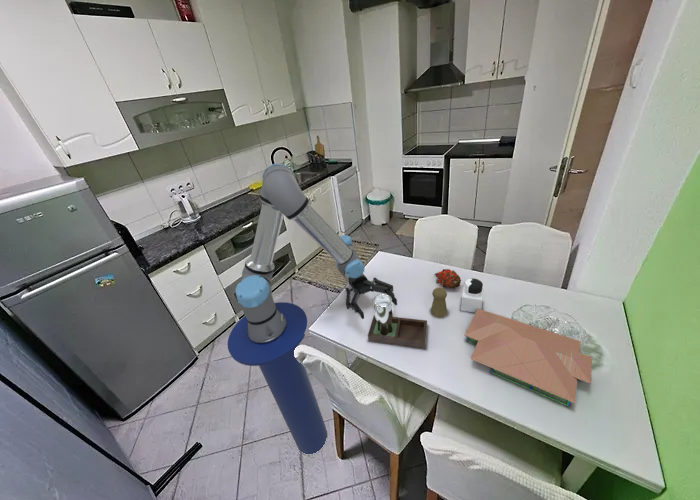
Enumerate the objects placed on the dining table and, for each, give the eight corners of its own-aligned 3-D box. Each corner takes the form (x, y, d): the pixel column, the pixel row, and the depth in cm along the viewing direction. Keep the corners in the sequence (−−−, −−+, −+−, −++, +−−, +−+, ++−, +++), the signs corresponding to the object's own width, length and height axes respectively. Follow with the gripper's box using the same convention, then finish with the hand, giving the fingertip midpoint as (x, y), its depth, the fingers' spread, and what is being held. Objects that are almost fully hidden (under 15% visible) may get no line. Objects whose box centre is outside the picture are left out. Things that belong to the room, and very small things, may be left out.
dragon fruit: (460, 295, 117) (436, 287, 126) (468, 277, 118) (443, 271, 127) (453, 287, 111) (427, 280, 120) (461, 269, 113) (435, 263, 122)
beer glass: (385, 320, 107) (382, 290, 99) (398, 330, 102) (396, 299, 94) (372, 330, 103) (368, 300, 96) (385, 341, 99) (382, 310, 91)
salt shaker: (448, 308, 109) (450, 287, 103) (444, 319, 104) (446, 297, 99) (433, 305, 112) (433, 283, 106) (428, 314, 107) (429, 293, 102)
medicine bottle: (481, 301, 110) (485, 277, 103) (480, 314, 104) (484, 289, 98) (462, 298, 113) (464, 275, 106) (460, 310, 107) (462, 286, 101)
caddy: (368, 341, 101) (367, 335, 99) (374, 320, 109) (374, 314, 107) (425, 349, 94) (425, 343, 93) (427, 326, 103) (427, 320, 101)
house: (585, 416, 71) (595, 397, 66) (455, 359, 90) (456, 342, 85) (588, 352, 85) (597, 333, 81) (476, 314, 104) (478, 298, 100)
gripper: (382, 276, 123) (409, 304, 105) (330, 296, 116) (349, 329, 99) (381, 262, 119) (408, 289, 101) (327, 282, 112) (346, 314, 95)
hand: (379, 309), depth 100 cm, fingers open, 13 cm apart
